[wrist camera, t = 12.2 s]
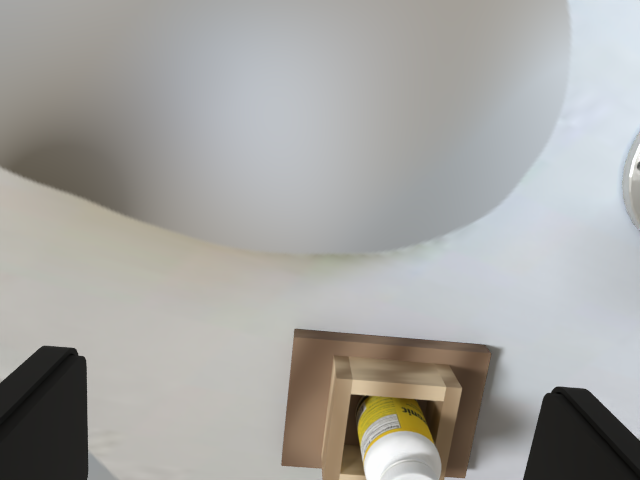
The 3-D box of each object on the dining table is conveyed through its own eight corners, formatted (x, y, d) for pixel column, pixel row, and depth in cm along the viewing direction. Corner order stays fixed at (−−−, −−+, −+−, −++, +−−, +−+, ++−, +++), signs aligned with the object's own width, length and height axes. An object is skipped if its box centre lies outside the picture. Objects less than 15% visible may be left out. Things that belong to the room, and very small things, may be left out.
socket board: (484, 344, 41) (509, 376, 36) (459, 466, 44) (478, 509, 39) (294, 328, 40) (293, 358, 35) (282, 453, 43) (279, 497, 38)
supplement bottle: (430, 420, 41) (467, 513, 31) (373, 448, 41) (393, 548, 32) (401, 370, 39) (431, 451, 30) (342, 400, 40) (353, 489, 31)
